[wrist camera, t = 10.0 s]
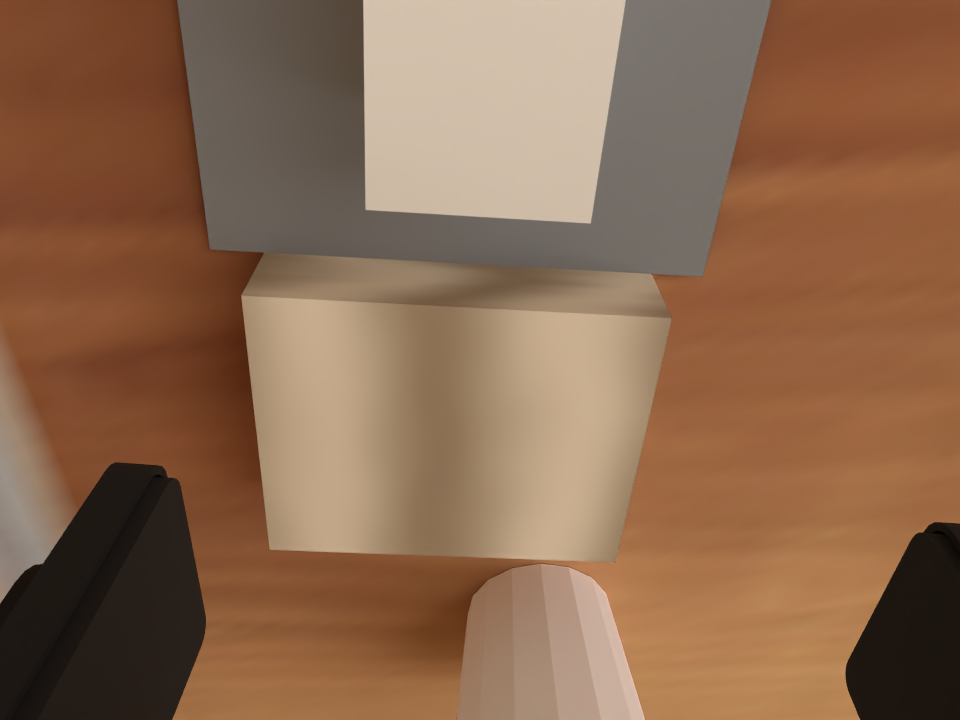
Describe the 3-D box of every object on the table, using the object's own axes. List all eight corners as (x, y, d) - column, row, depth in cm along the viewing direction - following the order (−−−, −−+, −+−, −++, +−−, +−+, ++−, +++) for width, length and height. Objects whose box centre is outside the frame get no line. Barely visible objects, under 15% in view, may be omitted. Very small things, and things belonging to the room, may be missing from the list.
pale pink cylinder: (542, 524, 28) (562, 699, 22) (660, 610, 30) (707, 788, 25) (416, 615, 30) (404, 795, 24) (535, 688, 33) (550, 865, 27)
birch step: (648, 267, 22) (672, 318, 20) (601, 498, 27) (615, 562, 25) (267, 246, 22) (241, 296, 19) (288, 485, 27) (269, 549, 24)
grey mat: (798, -136, 17) (805, -136, 17) (699, 270, 22) (702, 277, 22) (158, -189, 16) (152, -190, 16) (213, 243, 22) (209, 249, 21)
